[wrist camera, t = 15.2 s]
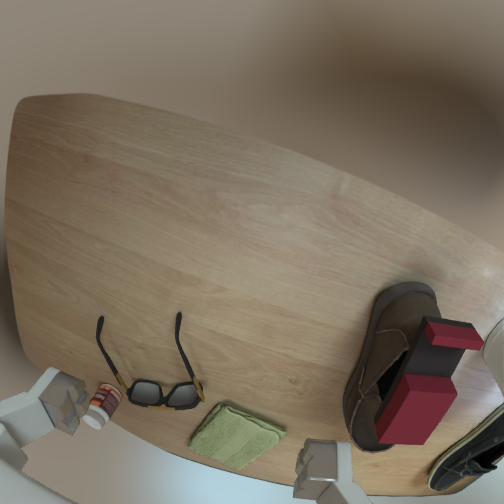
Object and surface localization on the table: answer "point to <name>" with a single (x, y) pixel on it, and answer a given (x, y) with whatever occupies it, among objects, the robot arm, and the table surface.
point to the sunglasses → (150, 391)
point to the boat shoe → (471, 454)
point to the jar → (496, 354)
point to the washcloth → (234, 437)
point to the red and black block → (424, 381)
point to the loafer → (384, 357)
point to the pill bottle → (102, 406)
